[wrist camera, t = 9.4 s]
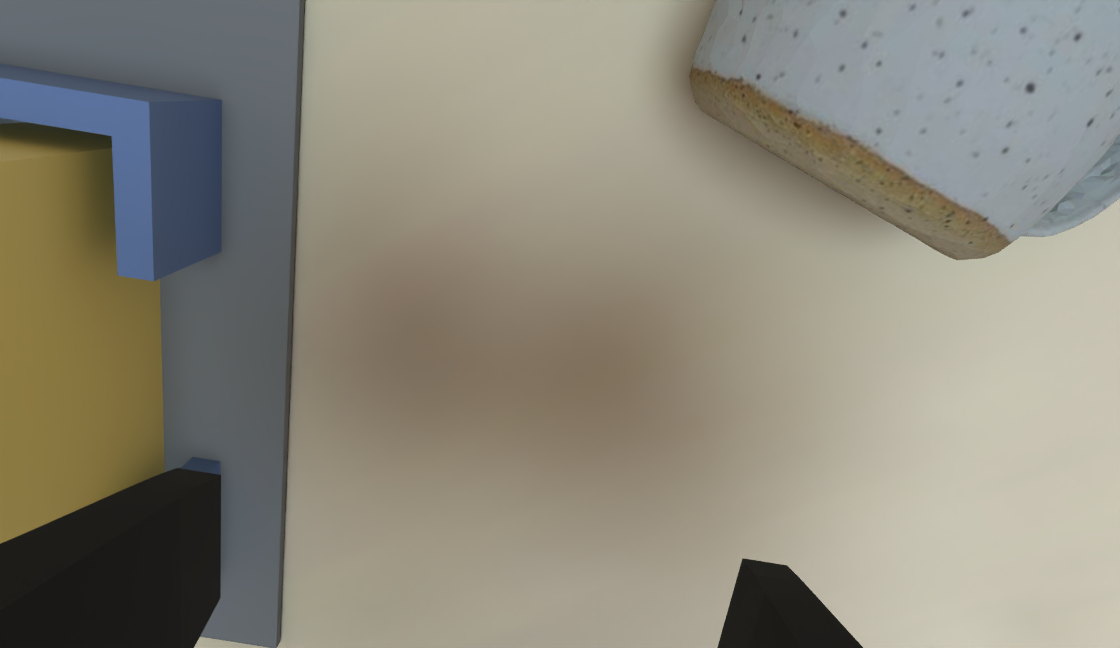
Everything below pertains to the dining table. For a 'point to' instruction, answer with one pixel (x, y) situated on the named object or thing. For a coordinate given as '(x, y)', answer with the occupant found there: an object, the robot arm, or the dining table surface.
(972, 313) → the dining table surface
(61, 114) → the end cap
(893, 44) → the ceramic mug
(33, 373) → the slat
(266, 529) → the mat
